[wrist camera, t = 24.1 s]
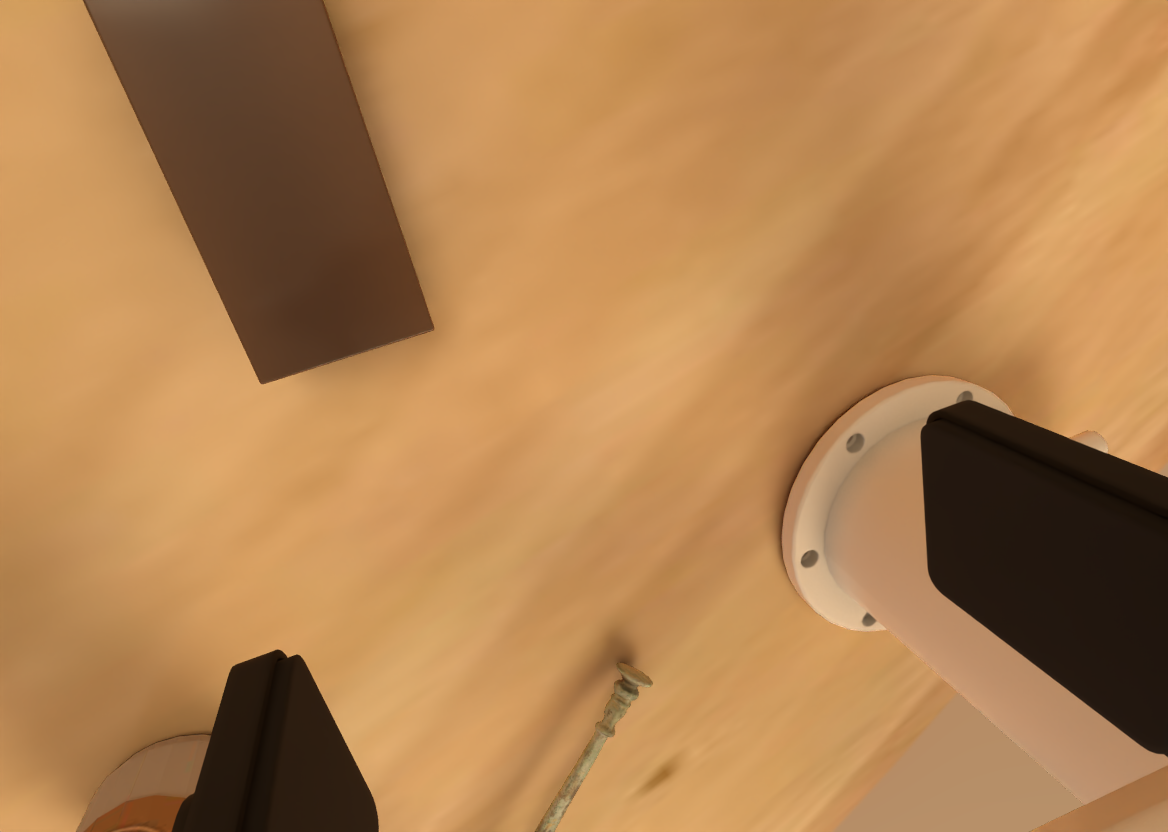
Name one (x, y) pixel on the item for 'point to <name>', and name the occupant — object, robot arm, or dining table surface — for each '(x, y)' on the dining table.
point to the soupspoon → (596, 742)
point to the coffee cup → (148, 788)
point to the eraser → (270, 173)
